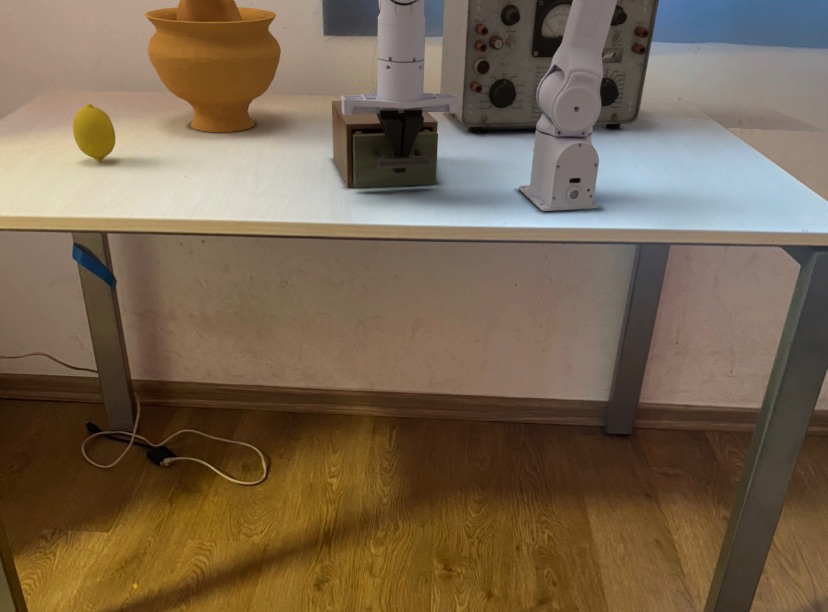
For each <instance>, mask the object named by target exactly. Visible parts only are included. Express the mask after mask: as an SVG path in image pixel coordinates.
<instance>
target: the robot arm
mask: <svg viewBox="0 0 828 612" xmlns="http://www.w3.org/2000/svg"><path fill="white" fill-rule="evenodd" d="M425 3H426V2H425V0H378V10H379V14H378V16H377V92H374V93H363V94H353V95H352V94H351V95H341V101H342V113H343V114H344V115H352V114H374V113H377V117H378V119H379V122H380V124H381V126H382V129H383V131H384V134H385V137H386V140H387V143H388V147H389V151H390V155H391V157H403V156H409V155H410V152H411V149H412V146H413V144H414V141H415V139H416V137H417V135H418V133H419V131H420V130H421V128H422V126H423V123H424V117H423V116H422V113H424V112H428V113H448V114H453V113H457V109H458V97H457V96H456V95H454V94H440V93H433V92H424V84H425V83H424V82H425V81H424V80H425V52H426V27H427V24H426V23H427V18H426V16H425ZM616 3H617V0H573V2H572V6H571V10H570V13H569V17H568V21H567V25H566V29H565V32H564V36H563V40H562V43H561V45H560V47H559V48H558V50H557V51H556V53H555V54H554V56H553V59H552V63H551V66H550V68H549V70H548V72H547V74H546V75H545V76H544V77H543V78H542V80H541V81H540V83H539V86H538V88H537V94H536V97H537V103H538V106H539V108H540V109H541V111H542V112H543V114H542V116H541V118H540V120H539V121H538V122H537V125H536V127H535V136H534V143H533V144H534V145H533V154H532V163H531V172H530V182H529V184H521V185H519V186H518V190H519V191H520V192H522V193H523V194H524V195H525V196H526V198H528V199H529V200H530V201H531V202H532V203H533V204H534V205H535V206H536V207H538V208H539V209H540V210H541V211H543V212H549V211H550V212H552V211H572V210H589V209H598V208H600V204H599V203H598V202H597V201H595V200H594V198H595V192H596V185H597V179H598V172H599V165H600V158H599V154H598V152H597V150H596V148H595V147H594V145H593V141H592V137H593V130H594V125H595V124H594V123H595V122H596V121H597V119H598V117H599V114H600V111H601V98H600V86H601V81H602V78H603V66H602V51H603V48H604V45H605V41H606V38H607V34H608V31H609V27H610V24H611V20H612V17H613V14H614V10H615V7H616ZM392 169H393V171H394V172H395V173H405V172H406V168H392Z"/></svg>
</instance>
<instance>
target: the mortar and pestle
mask: <svg viewBox="0 0 828 612" xmlns="http://www.w3.org/2000/svg"><path fill="white" fill-rule="evenodd" d="M144 17H146V18H147V20H148V21H149V22H150V23H151V24H152V25H153V26H154V28H155V33H154V34H153V35H152V36H151V38H150V39H149V41H148V44H147V48H146V49H147V54H148V57H149V61H150V63H151V64H152V66H153V68H154V70H155V72H156V73H157V76H158V77H159V79H160V81H161V82H162V84H163V85H164V86H165V88H166V89H167V90H168V91H169V92H171V93H172V94H173V95H174V96H175V97H177V98H179V99H181V100H184V101H186V102H187V103H188V104H189V105H190V106H191V107H192V109H193V111H194V115H193V118H192V121H191V123H190V127H191V128H193V130H196V131H197V130H198V131H201V132H207V133H208V132H209V133H232V132H241V131H245V130H248V129H251V128H252V127H253V126H255V122H254V120H253V119H252V117H251V116H250V113H249V107H250V105H251V104H252V103H253V101H254V100H255V99H257V98H259V97H261V96H262V95H263V94H264V93H265V92H267V91H268V90H269V87H270V86H271V84H272V82H273V81H274V79H275V76H276V73H277V70H278V67H279V64H280V59H281V53H282V51H281V50H282V49H281V46H280V44H279V42H278V40H277V39H276V37H274V35H273V34H272V33H271V31H270V30H269V29H270V25H271V24H272V22H273V21H275V19H276V17H277V13H275V12H273V11H271V10H266V9H259V8H255V7H254V8H253V7H241V6H240V7H239V6H237V4H236V1H235V0H179V2H178V5H177V7H168V8H167V7H165V8H159V9H154V10H150V11H146V12H145V13H144Z"/></svg>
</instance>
